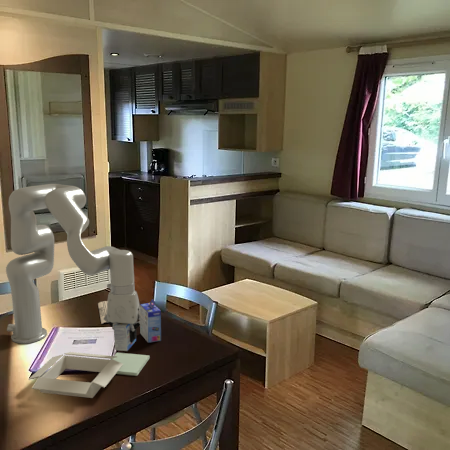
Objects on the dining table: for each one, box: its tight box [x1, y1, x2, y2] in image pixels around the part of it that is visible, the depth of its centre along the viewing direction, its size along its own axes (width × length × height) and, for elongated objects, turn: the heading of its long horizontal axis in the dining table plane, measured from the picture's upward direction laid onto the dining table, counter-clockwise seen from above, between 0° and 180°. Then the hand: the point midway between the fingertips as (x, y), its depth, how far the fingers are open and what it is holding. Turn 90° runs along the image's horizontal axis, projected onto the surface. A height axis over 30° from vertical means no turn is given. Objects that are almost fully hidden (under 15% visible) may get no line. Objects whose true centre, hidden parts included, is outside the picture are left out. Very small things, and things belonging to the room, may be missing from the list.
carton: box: [28, 351, 123, 399], centre depth 149 cm, size 25×23×5 cm
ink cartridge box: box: [139, 299, 162, 344], centre depth 180 cm, size 10×6×14 cm, turn 27°
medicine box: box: [113, 323, 137, 352], centre depth 158 cm, size 8×4×9 cm, turn 168°
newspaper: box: [97, 300, 108, 325], centre depth 205 cm, size 24×7×2 cm, turn 18°
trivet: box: [110, 352, 151, 377], centre depth 160 cm, size 12×12×1 cm
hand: (125, 339), depth 159 cm, fingers closed on medicine box, 4 cm apart
